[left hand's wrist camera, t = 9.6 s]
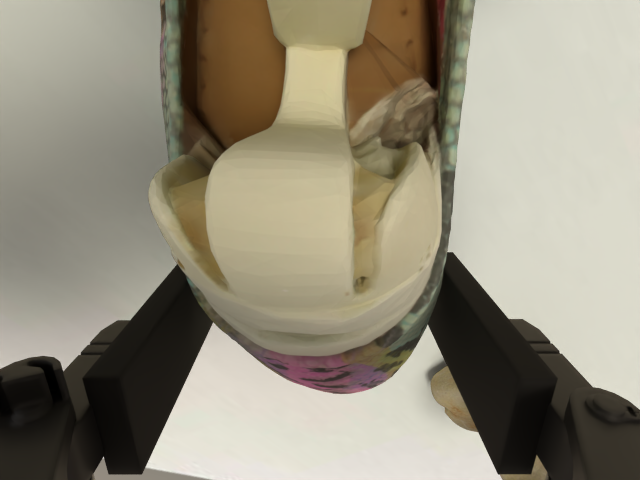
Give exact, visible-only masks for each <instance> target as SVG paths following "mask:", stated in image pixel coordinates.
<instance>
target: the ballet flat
mask: <svg viewBox="0 0 640 480" xmlns="http://www.w3.org/2000/svg"><path fill="white" fill-rule="evenodd" d="M474 5H475V0H160V8H161V43H160V71H161V92H162V107H163V115H164V123H165V132H166V140H167V149H168V157H169V164H167V165H166V166H164V167H163V168H161V169H160V170H159V171H158V172H157V173H156V174H155V176H154V177H153V179H152V181H151V183H150V187H149V192H148V199H149V204H150V207H151V211H152V213H153V215H154V218H155V220H156V222H157V224H158V226H159V228H160V230H161V233H162V235H163V236H164V238H165V239H166V241H167V243H168V244H169V246H170V247H171V252H172V256H173V258H174V259H175V261H176V263H177V264H178V265H179V267H180V268H181V269H182V271H183V272H184V273H185V275H186V278H187V281H188V283H189V285H190V287H191V290H192V292H193V294H194V296H195V298H196V299H197V301H198V303H199V305H200V306H201V307H202V309H203V310H204V311H205V313H206V314H207V315H208V317H209V318H210V319H211V320H212V321H213V322H214V323H215V324H216V325H217V326H218V327H219V328H220V329H221V330H222V331H223V332H225V333H226V334H227V335H229V336H230V337H231V338H232V339H233V340H235V341H236V342H237V343H238V344H240V345H241V346H242V347H243V348H244V349H245V350H246V351H247V352H249V353H250V354H251V355H253V356H254V357H255V358H256V359H257V360H258V361H260V362H261V363H262V364H263V365H265V366H266V367H268V368H269V369H271V370H272V371H274V372H275V373H277V374H279V375H280V376H282V377H284V378H285V379H287V380H289V381H292V382H294V383H297V384H300V385H303V386H306V387H309V388H312V389H316V390H320V391H323V392H329V393H334V394H350V393H356V392H361V391H365V390H368V389H371V388H373V387H376V386H378V385H380V384H382V383H383V382H385V381H386V380H388V379H389V378H391V377H392V376H393V375H394V374H395V373H396V372H397V371H398V369H399V368H400V367H401V366H402V365H403V364H404V363H405V362H406V360H407V359H408V358H409V357H410V355H411V353H412V352H413V350H414V348H415V347H416V345H417V343H418V342H419V340H420V338H421V336H422V334H423V333H424V331H425V329H426V327H427V324H428V322H429V319H430V317H431V315H432V312H433V310H434V307H435V304H436V301H437V298H438V296H439V293H440V289H441V285H442V279H443V269H444V265H445V262H446V256H447V249H448V241H449V235H450V230H451V216H452V209H453V193H454V179H455V168H456V161H457V144H458V137H459V128H460V118H461V109H462V102H463V96H464V90H465V82H466V69H467V57H468V51H469V45H470V33H471V27H472V22H473V12H474Z"/></svg>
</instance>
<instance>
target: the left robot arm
mask: <svg viewBox="0 0 640 480" xmlns="http://www.w3.org/2000/svg"><path fill="white" fill-rule="evenodd" d="M212 323H213V321H212V320H211V319H210V318H209V317H208V315H207V314H206V313H205V311H204V310H203V309H202V307H201V306H200V305H199V303H198V301H197V299H196V298H195V296H194V294H193V292H192V290H191V287H190V285H189V283H188V281H187V278H186V275H185V273H184V272H183V271H182V269H181V268H180V267H179V265H178V264H177V265H176V266H175V268H174V269H173V270H172V271H171V272H170V274H169V275H168V276H167V277H166V278H165V280H164V281H163V282H162V283H161V284H160V286H159V287H158V288H157V289H156V290H155V292H154V293H153V294H152V295H151V296H150V297H149V299H148V300H147V301H146V302H145V303H144V305H143V306H142V307H141V308H140V309H139V311H138V312H137V313H136V314H135V315H134V317H133V318H132V319H131V320H118V321H116V322H114V323H113V324H111V325H110V326H108V327H106V328H105V329H103V330H101V331H100V333H99V334H98V335H97V336H96V337H95V338H94V339H93V340H92V341H91V342H90V345H88V346H87V347H86V348H85V349H84V350H83V351H82V352H81V355H78V356H77V357H76V359H75V360H74V361H73V362H72V363H71V364H70V365H69V366H68V367H67V368H66V369H65V370H64V372H63V370H62V366H61V363H60V361H58V360H57V359H56V358H54V357H47V356H40V357H32V358H27V359H24V360H21V361H17V362H14V363H12V364H10V365H8V366H6V367H4V368H2V369H0V480H95V478H94V474H93V473H94V472H95V470H96V468H97V466H98V465H99V463H100V461H101V460H102V458H103V456H104V459H105V463H106V466H107V470H108V474H142V473H143V471H144V469H145V467H146V465H147V462H148V460H149V458H150V456H151V454H152V452H153V450H154V447H155V445H156V443H157V441H158V439H159V437H160V435H161V433H162V430H163V428H164V426H165V424H166V422H167V420H168V418H169V415H170V413H171V411H172V409H173V407H174V405H175V403H176V400H177V398H178V396H179V394H180V392H181V390H182V388H183V385H184V383H185V381H186V379H187V377H188V375H189V373H190V370H191V368H192V366H193V364H194V362H195V360H196V358H197V356H198V353H199V351H200V349H201V347H202V345H203V343H204V341H205V338H206V336H207V334H208V332H209V330H210V328H211V326H212ZM428 326H429V328H430V330H431V332H432V334H433V336H434V338H435V341H436V343H437V345H438V347H439V349H440V351H441V353H442V355H443V358H444V360H445V362H446V364H447V366H448V368H449V370H450V373H451V375H452V377H453V379H454V381H455V383H456V385H457V388H458V390H459V392H460V394H461V396H462V398H463V400H464V403H465V405H466V407H467V409H468V411H469V413H470V415H471V418H472V420H473V422H474V424H475V426H476V428H477V430H478V432H479V435H480V437H481V439H482V441H483V443H484V445H485V447H486V450H487V452H488V454H489V456H490V458H491V460H492V462H493V465H494V467H495V469H496V471H497V473H498V474H532V470H533V466H534V463H535V459H536V456H538V458H539V459H540V461H541V463H542V464H543V466H544V468H545V469H546V471H547V474H546V478H545V480H640V410H639V409H638V408H637V407H636V406H634V405H633V404H632V403H631V402H629V401H628V400H626V399H624V398H622V397H620V396H619V395H617V394H615V393H612V392H609V391H606V390H603V389H600V388H594V387H592V386H591V385H590V384H589V383H588V382H587V380H586V379H585V378H584V377H583V376H582V375H581V374H580V373H579V372H578V371H577V370H576V369H575V368H574V366H573V365H572V364H571V363H570V362H569V361H568V360H567V359H566V358H565V357H564V356H563V355H562V354H560V353H559V350H558V349H557V348H556V347H555V346H554V345H553V344H550V341H549V340H548V338H547V337H546V336H545V335H544V334H543V333H542V332H541V331H540V330H539V329H538V328H536V327H534V326H533V325H531V324H530V323H528V322H526V321H525V320H523V319H508V318H507V317H506V315H505V314H504V313H503V312H502V311H501V309H500V308H499V307H498V306H497V305H496V303H495V302H494V301H493V300H492V299H491V297H490V296H489V295H488V294H487V293H486V291H485V290H484V289H483V288H482V287H481V286H480V284H479V283H478V282H477V281H476V280H475V278H474V277H473V276H472V275H471V274H470V272H469V271H468V270H467V269H466V268H465V266H464V265H463V264H462V263H461V262H460V260H459V259H458V258H457V257H456V256H455V254H454V253H453V252H447V256H446V262H445V265H444V269H443V279H442V285H441V289H440V293H439V296H438V298H437V301H436V304H435V307H434V310H433V312H432V315H431V317H430V319H429V322H428Z"/></svg>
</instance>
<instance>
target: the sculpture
mask: <svg viewBox="0 0 640 480" xmlns="http://www.w3.org/2000/svg"><path fill="white" fill-rule="evenodd" d="M431 390H432V394H433V396H434V398H435V400H436V401H437V402H438V403H439V404H440V405H442V406H444V407H445V413H446V414H447V415H448V416H449V418H450V419H451V420H452V421H453V422H454V423H456V424H457V425H459V426H460V427H462V428H464V429H467V430H470V431H475V432H478V430H477V428H476V426H475V424H474V422H473V420H472V418H471V415H470V413H469V411H468V409H467V407H466V405H465V403H464V400H463V398H462V396H461V394H460V392H459V390H458V388H457V385H456V383H455V381H454V379H453V377H452V375H451V373H450V370H449V368H448V366H446V367H444V368H443V369H441V370H440V371H439V372H437V373H436V374H435V375H434V376H433V378H432V381H431ZM546 474H547V471H546V469H545V468H544V466H543V464H542V463H541V461H540V459H539V458H538V456H536V459H535V463H534V466H533V470H532V474H500V476H501V478H502V479H503V480H545V478H546Z"/></svg>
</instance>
